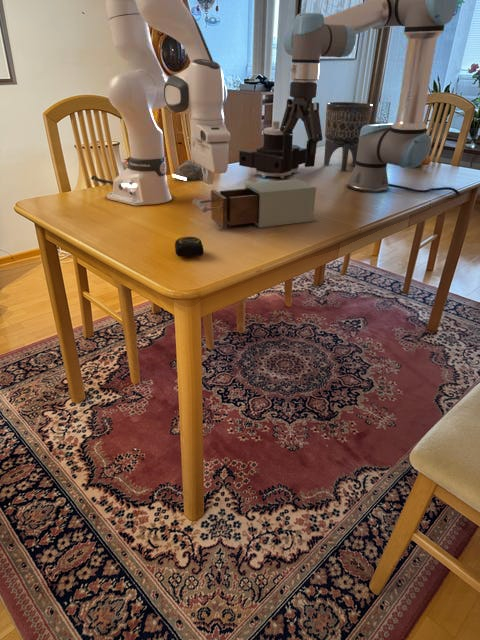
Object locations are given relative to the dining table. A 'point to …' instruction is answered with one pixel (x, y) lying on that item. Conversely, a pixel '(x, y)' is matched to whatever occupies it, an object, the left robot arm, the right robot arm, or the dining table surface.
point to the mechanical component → (273, 155)
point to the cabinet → (284, 202)
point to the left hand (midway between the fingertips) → (208, 183)
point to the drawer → (232, 206)
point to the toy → (425, 162)
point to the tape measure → (189, 247)
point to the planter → (345, 128)
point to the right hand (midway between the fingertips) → (297, 162)
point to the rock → (190, 171)
